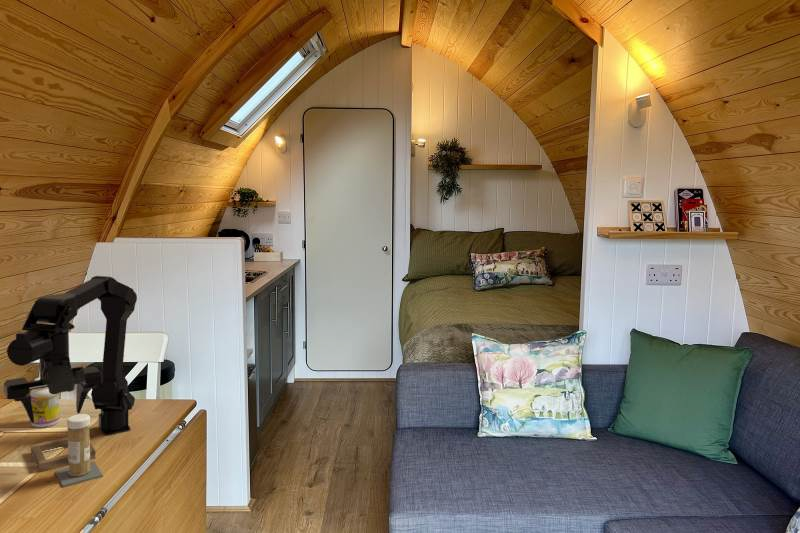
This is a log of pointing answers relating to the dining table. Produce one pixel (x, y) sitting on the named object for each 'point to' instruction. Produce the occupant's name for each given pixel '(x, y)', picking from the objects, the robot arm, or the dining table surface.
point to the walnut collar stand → (57, 461)
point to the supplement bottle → (44, 407)
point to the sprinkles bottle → (78, 445)
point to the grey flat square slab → (71, 480)
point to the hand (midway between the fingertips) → (55, 417)
